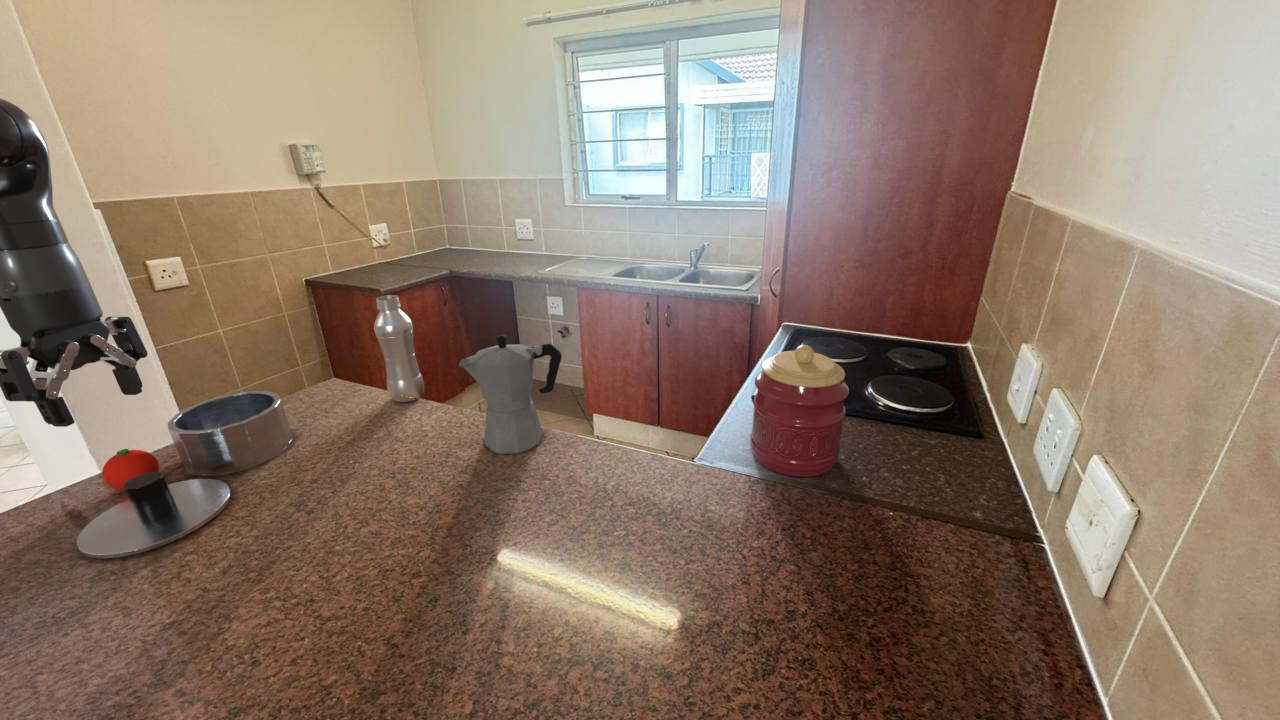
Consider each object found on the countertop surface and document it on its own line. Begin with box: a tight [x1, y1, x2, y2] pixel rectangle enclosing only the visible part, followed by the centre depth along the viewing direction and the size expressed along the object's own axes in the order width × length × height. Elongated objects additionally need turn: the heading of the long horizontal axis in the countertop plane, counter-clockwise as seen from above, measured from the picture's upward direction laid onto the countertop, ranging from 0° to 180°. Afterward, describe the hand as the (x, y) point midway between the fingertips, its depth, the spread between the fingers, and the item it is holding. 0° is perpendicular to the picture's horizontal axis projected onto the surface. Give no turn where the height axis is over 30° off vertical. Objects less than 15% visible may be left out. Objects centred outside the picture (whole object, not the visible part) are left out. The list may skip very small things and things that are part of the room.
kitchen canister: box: [749, 344, 850, 478], centre depth 73 cm, size 13×13×18 cm
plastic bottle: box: [373, 294, 425, 403], centre depth 92 cm, size 6×7×20 cm
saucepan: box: [167, 390, 294, 478], centre depth 78 cm, size 14×14×8 cm
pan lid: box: [76, 471, 232, 560], centre depth 63 cm, size 15×15×6 cm
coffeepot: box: [458, 334, 563, 455], centre depth 78 cm, size 15×9×18 cm, turn 112°
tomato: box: [101, 448, 160, 491], centre depth 70 cm, size 6×6×6 cm
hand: (100, 408), depth 64 cm, fingers open, 8 cm apart
